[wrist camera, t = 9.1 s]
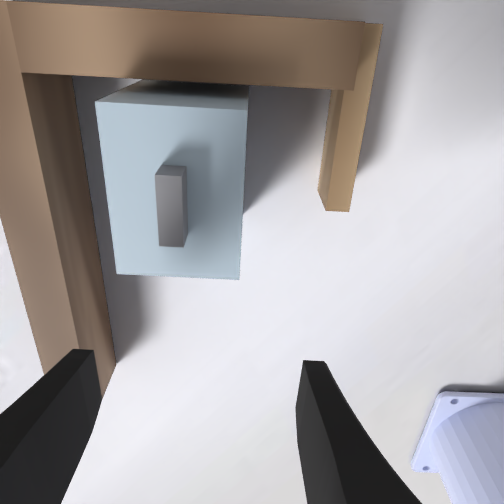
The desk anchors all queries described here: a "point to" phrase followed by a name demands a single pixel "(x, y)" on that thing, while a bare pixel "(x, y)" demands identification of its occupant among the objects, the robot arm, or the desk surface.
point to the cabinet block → (175, 177)
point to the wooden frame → (140, 67)
